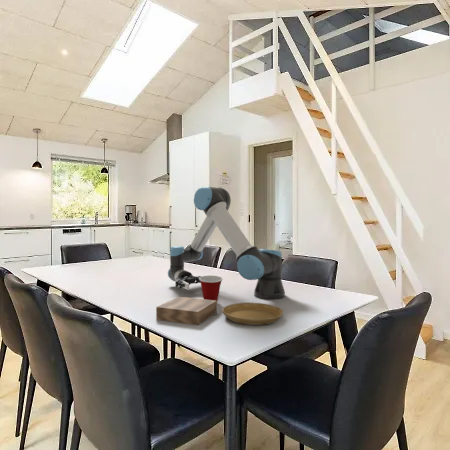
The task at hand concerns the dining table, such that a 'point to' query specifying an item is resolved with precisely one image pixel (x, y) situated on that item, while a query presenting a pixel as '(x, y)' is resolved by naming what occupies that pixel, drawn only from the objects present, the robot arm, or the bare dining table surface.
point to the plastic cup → (210, 286)
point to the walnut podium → (186, 310)
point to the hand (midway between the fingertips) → (201, 285)
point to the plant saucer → (252, 313)
